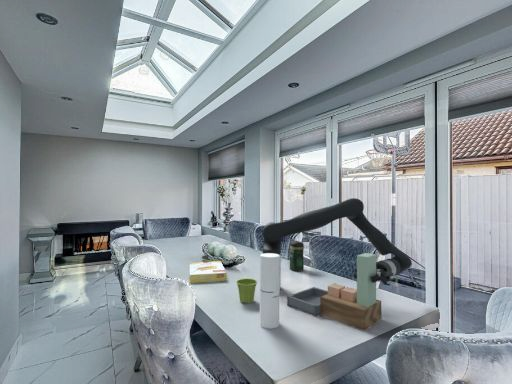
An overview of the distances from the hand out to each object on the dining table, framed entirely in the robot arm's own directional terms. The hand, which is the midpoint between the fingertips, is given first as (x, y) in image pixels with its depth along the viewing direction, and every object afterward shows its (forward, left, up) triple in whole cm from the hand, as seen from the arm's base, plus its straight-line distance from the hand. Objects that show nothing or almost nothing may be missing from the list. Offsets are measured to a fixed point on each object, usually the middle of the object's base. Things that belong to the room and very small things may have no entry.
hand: (363, 277), depth 103 cm
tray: (-13, +19, -17) cm, 29 cm away
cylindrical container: (-34, +2, -17) cm, 38 cm away
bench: (-2, +7, -17) cm, 18 cm away
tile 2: (-2, +7, -10) cm, 12 cm away
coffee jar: (-9, +79, -17) cm, 81 cm away
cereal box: (-65, +67, -18) cm, 95 cm away
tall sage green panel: (+2, +2, -10) cm, 10 cm away
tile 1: (-6, +11, -10) cm, 16 cm away
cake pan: (-61, +99, -18) cm, 117 cm away
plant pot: (-42, +25, -17) cm, 52 cm away
